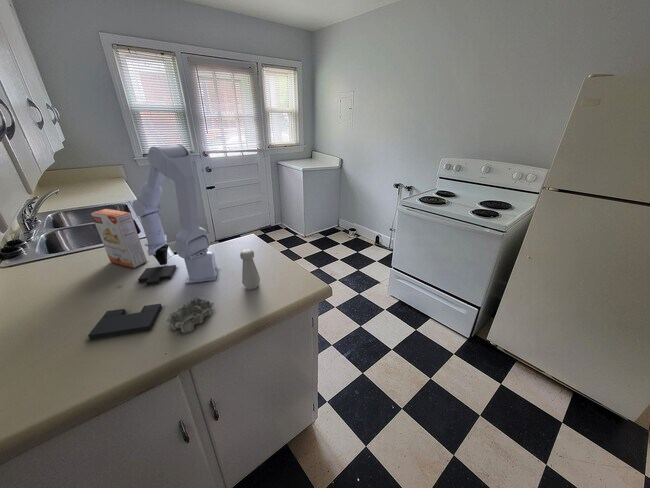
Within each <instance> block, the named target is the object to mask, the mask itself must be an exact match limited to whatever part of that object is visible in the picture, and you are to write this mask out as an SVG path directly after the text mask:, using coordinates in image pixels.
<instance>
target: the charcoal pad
mask: <svg viewBox="0 0 650 488" xmlns="http://www.w3.org/2000/svg"><path fill="white" fill-rule="evenodd" d="M162 309H163V306H162V303H155V304H148V305H147V304H145V305H143V307H142V309H141V310H140V311H139V312H132V313H127V311H126V309H125V308H119V309H112V310H106V312H105V313H104V315H102V316H101V318H100V319H99V321H98V322H97V323H96V324H95V326H94V327H93V328H92V329H91V331H90V332H89V333H88V335H87V337H88V339H89V340H90V341H91V340H98V339H104V338H110V337H116V336H117V337H118V336H122V335H128V334H129V335H130V334H136V333H141V332H148V331H152V329H153V326H154V325H155V322H156V320H157V318H158V316H159V315H160V313H161V311H162Z"/></svg>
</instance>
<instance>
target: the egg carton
mask: <svg viewBox="0 0 650 488" xmlns="http://www.w3.org/2000/svg"><path fill="white" fill-rule="evenodd" d="M213 305H215V304H214V302H210V300H206V299H203V298H201V297H199V296H196V295H195V296H194V297H193V298H192V299H190V301H188V302H186V303H185V304H183V305H182V306H180V307H179V308H177V309H176V310H175V311H173V312H170V313H169V314H168V316H167V318H166V322H169V323H170V326H171V329H172V330H174V331H176V330H177V329H180V330H181V333H183V334H185V333H187V332H192V331H193V330H195V325H198V324H202V323H203V322H204V318H205V317H208V316H209V317H210V316H212V315H213Z"/></svg>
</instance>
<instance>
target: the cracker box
mask: <svg viewBox="0 0 650 488" xmlns="http://www.w3.org/2000/svg"><path fill="white" fill-rule="evenodd" d="M90 215H91V217H92V221H93V223H94V225H95V227H96V230H97V232H98V234H99V237H100V240H101V242H102V245H103V247H104V250H105V252H106V255H107V257H108V259H109V262H110V263H113V264H117V265H120V266H122V267H123V266H124V267H127V268H132V269H135V268H138V267H139V266H142V265H143V264H145V263H147V262H148V261H147V257H146V254H145V252H144V248H143V246H142V243H141V239H140V236H139V233H138V231H137V227H136V225H135V221H134V218H133V216H132V213H131V212H128V211H124V210H123V211H122V210H117V209H111V208H104V209H100V210H96V211H93V212H92V211H91V212H90Z"/></svg>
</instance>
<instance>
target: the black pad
mask: <svg viewBox="0 0 650 488" xmlns="http://www.w3.org/2000/svg"><path fill="white" fill-rule="evenodd" d="M176 270H177V265H176V264H172V265H160V266H154V267H146V268H145V269H144V271H143V272H142V274H140V276H139V277H138V278H137V281H138V283H139V284H143V283H145V285H146V287H149V286H158V285H159V284H160V282H161V281H167V280H172V277H173V276H174V274H175V272H176Z"/></svg>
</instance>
